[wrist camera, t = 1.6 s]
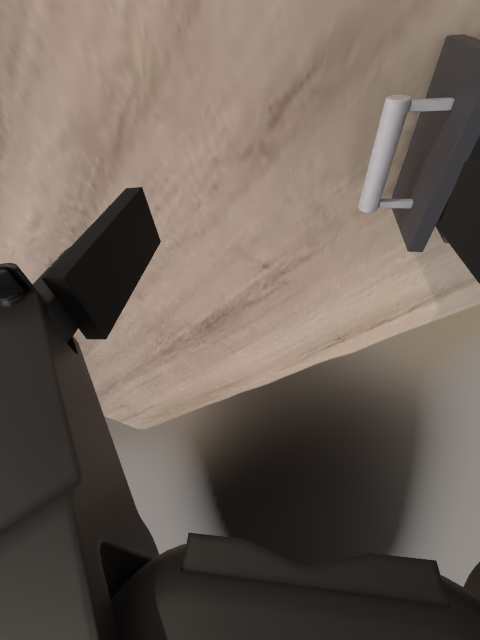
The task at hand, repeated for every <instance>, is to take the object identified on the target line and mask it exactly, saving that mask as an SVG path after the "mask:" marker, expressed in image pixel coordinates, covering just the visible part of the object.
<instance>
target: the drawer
mask: <svg viewBox="0 0 480 640" xmlns="http://www.w3.org/2000/svg"><path fill="white" fill-rule="evenodd" d="M420 111H421V113H420V116H419V119H418V122H417V125H416V128H415V131H414V134H413V137H412V140H411V143H410V146H409V149H408V152H407V155H406V157H405V160H404V163H403V166H402V169H401V172H400V175H399V178H398V181H397V184H396V187H395V190H394V193H393V196H392V199H381V196H382V193H383V189H384V186H385V183H386V180H387V176H388V173H389V170H390V167H391V163H392V160H393V157H394V154H395V150H396V147H397V144H398V141H399V137H400V134H401V131H402V128H403V125H404V121H405V118H406V115H407V112H420ZM475 160H480V40H478V39H475V38H473V37H470V36H467V35H451V36H447V37H446V39H445V42H444V45H443V48H442V51H441V54H440V57H439V60H438V63H437V66H436V69H435V72H434V75H433V78H432V81H431V84H430V87H429V90H428V93H427V95H426V98H425V99H411V97H410V96H408V95H390V96H388V97H386V100H385V104H384V108H383V112H382V115H381V119H380V123H379V127H378V131H377V135H376V139H375V143H374V147H373V151H372V155H371V159H370V163H369V167H368V171H367V174H366V178H365V182H364V186H363V190H362V194H361V198H360V202H359V206H358V209H359V210H360V211H362V212H365V213H373V212H375V211H376V210H377V209H378V208H392V210H393V213H394V215H395V218H396V221H397V223H398V226H399V229H400V231H401V234H402V237H403V239H404V242H405V245H406V247H407V250H408V251H409V252H423V250H424V248H425V246H426V244H427V242H428V240H429V238H430V236H431V234H432V232H433V230H434V228H435V226H436V228H437V230H438V232H439V233H440V235H441V237H442V239H443V241H444V243H449V242H448V241H447V240H446V238H445V237H444V236H443V234H442V233H441V232H440V231H439V229H438V227H439V224H440V222H441V219H442V217H443V214H444V212H445V209H446V207H447V204H448V202H449V199H450V197H451V194H452V192H453V189H454V187H455V184H456V182H457V179H458V177H459V174H460V172H461V169H462V167H463V165H464V162H465V161H475Z"/></svg>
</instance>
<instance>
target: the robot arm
mask: <svg viewBox="0 0 480 640" xmlns="http://www.w3.org/2000/svg"><path fill="white" fill-rule="evenodd" d="M438 229H439V231H440V232H441V233H442V234H443V236H444V237H445V238H446V240H447V241H448V242H449V244H450V245H451V246H452V248H453V249H454V250H455V252H456V253H457V254H458V256H459V257H460V258H461V260H462V261H463V262H464V264H465V265H466V266H467V268H468V269H469V270H470V272H471V273H472V274H473V276H474V277H475V278H476V280H477V281H478V282H479V284H480V160H475V161H465V162H464V165H463V167H462V169H461V172H460V174H459V177H458V179H457V182H456V184H455V187H454V189H453V192H452V194H451V197H450V199H449V202H448V204H447V207H446V209H445V212H444V214H443V217H442V219H441V222H440V224H439V227H438ZM160 242H161V241H160V238H159V235H158V232H157V229H156V227H155V224H154V221H153V218H152V215H151V212H150V209H149V206H148V203H147V200H146V197H145V195H144V192H143V189H142V187H138V188H126V189H125V190H124V191H123V192H122V193H121V194H120V196H119V197H118V198H117V199H116V200H115V201H114V202H113V203H112V204H111V205H110V206H109V207H108V208H107V209H106V210H105V211H104V212H103V213H102V215H101V216H100V217H99V218H98V219H97V220H96V221H95V222H94V223H93V224H92V225H91V226H90V227H89V228H88V229H87V230H86V231H85V232H84V234H83V235H82V236H81V237H80V238H79V239H78V240H77V241H76V242H75V243H74V244H73V245H72V246H71V247H70V248H68V249H67V250H65V251H64V252H63V253H62V254H61V255H60V257H59V258H58V260H56V261H55V262H54V263H53V264H52V266H51V267H49V268H48V269H47V270H46V271H45V272H44V273H43V274H42V275H41V276H40V277H39V278H38V279H37V281H36V282H35V283H34V284H33V285H32V284H31V282H30V281H29V280H28V278H27V277H26V276H25V275H24V273H23V272H22V271H21V270H20V268H19V267H18V266H17V265H16V264H13V263H5V264H0V640H480V562H479V563H478V564H477V565H476V566H475V568H474V569H473V570H472V572H471V574H470V575H469V577H468V579H467V581H466V583H465V585H464V587H462V586H460V585H458V584H456V583H455V582H453V581H451V580H449V579H448V578H446V577H444V576H441V575H440V572H439V569H438V565H437V562H436V561H434V560H426V559H416V558H407V557H399V556H390V555H381V554H372V553H368V554H364V555H359V556H355V557H350V558H346V559H341V560H337V561H333V562H328V563H323V564H319V565H315V566H302V565H299V564H297V563H295V562H293V561H290V560H288V559H286V558H284V557H282V556H280V555H277V554H275V553H273V552H271V551H269V550H266V549H264V548H262V547H260V546H258V545H255V544H253V543H251V542H249V541H247V540H245V539H240V538H230V537H222V536H212V535H204V534H195V533H189V534H188V539H187V544H183V545H180V546H178V547H175V548H172V549H170V550H167V551H166V552H164V553H162V554H160V555H159V553H158V550H157V547H156V545H155V542H154V540H153V537H152V536H151V534H150V532H149V530H148V528H147V527H146V525H145V524H144V522H143V521H142V519H141V517H140V516H139V514H138V511H137V509H136V506H135V504H134V500H133V498H132V495H131V492H130V489H129V486H128V484H127V480H126V478H125V475H124V472H123V469H122V466H121V463H120V461H119V458H118V455H117V452H116V449H115V446H114V443H113V440H112V438H111V435H110V432H109V429H108V426H107V423H106V421H105V418H104V415H103V412H102V409H101V406H100V403H99V400H98V398H97V395H96V392H95V389H94V386H93V383H92V381H91V378H90V375H89V372H88V369H87V366H86V363H85V361H84V358H83V355H82V352H81V349H80V346H79V343H78V342H77V340H76V339H75V338H74V337H73V335H74V334H75V332H76V331H77V329H78V328H79V329H80V331H81V332H82V333H83V335H84V336H85V337H86V339H107V337H108V335H109V333H110V332H111V330H112V328H113V326H114V324H115V323H116V321H117V319H118V317H119V316H120V314H121V312H122V310H123V308H124V307H125V305H126V303H127V301H128V299H129V298H130V296H131V294H132V292H133V291H134V289H135V287H136V285H137V283H138V282H139V280H140V278H141V276H142V274H143V273H144V271H145V269H146V267H147V265H148V264H149V262H150V260H151V258H152V257H153V255H154V253H155V251H156V249H157V248H158V246H159V244H160Z"/></svg>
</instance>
